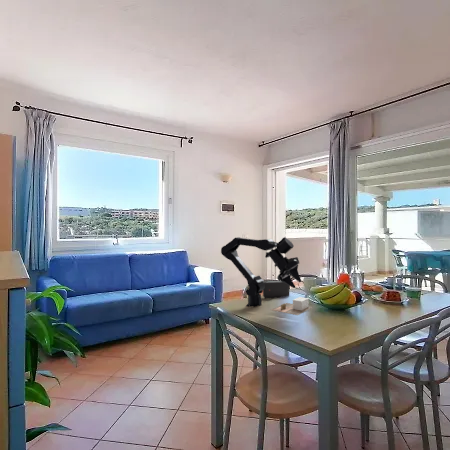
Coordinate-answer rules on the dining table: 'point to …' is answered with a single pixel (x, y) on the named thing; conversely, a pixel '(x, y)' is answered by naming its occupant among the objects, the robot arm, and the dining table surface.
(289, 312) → the mounting board
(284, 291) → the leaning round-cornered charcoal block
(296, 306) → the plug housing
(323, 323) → the dining table surface
